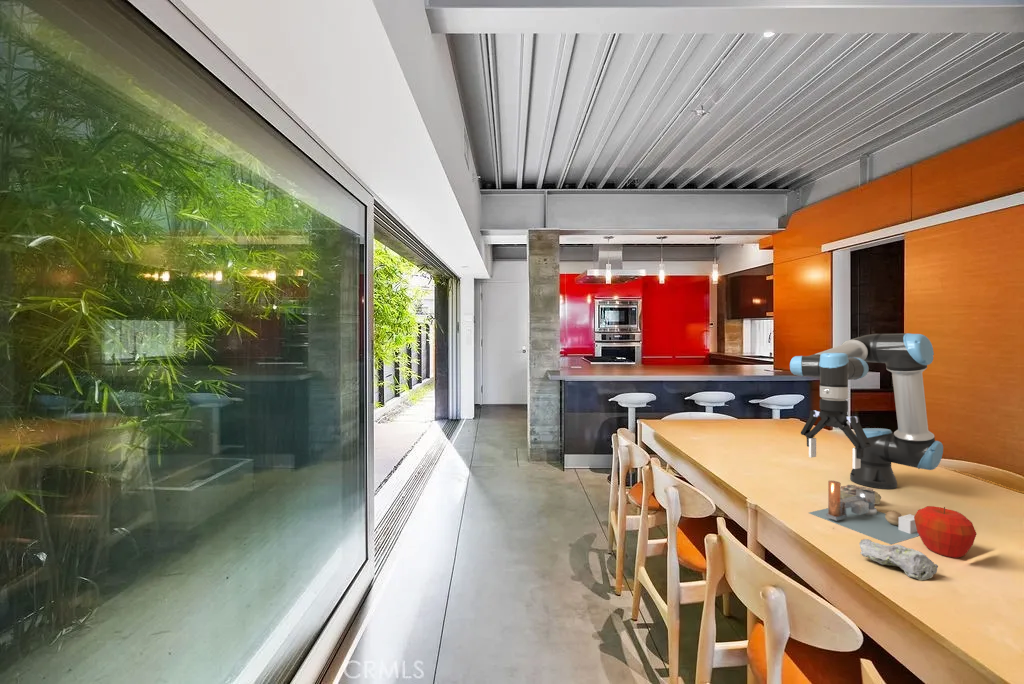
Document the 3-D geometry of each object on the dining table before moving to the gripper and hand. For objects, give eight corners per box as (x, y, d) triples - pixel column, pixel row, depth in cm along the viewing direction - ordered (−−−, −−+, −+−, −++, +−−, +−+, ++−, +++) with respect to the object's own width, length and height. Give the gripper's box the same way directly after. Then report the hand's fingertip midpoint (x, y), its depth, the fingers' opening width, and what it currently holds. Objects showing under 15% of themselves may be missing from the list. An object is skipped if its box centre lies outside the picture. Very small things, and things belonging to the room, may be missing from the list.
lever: (861, 506, 149) (861, 472, 149) (881, 512, 143) (881, 477, 143) (823, 515, 141) (823, 480, 141) (843, 523, 135) (843, 486, 135)
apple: (902, 544, 125) (902, 498, 125) (943, 545, 125) (944, 498, 125) (944, 567, 113) (944, 515, 113) (989, 567, 113) (990, 515, 112)
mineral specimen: (856, 563, 115) (856, 539, 115) (859, 554, 120) (860, 531, 120) (936, 587, 104) (936, 560, 104) (936, 576, 109) (936, 550, 109)
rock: (884, 494, 149) (870, 481, 159) (846, 491, 153) (834, 478, 162) (882, 513, 150) (868, 498, 160) (845, 509, 154) (833, 495, 163)
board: (851, 505, 154) (851, 491, 154) (937, 534, 132) (937, 517, 132) (807, 516, 146) (807, 501, 145) (890, 548, 123) (891, 531, 123)
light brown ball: (890, 520, 139) (890, 507, 139) (906, 526, 135) (906, 512, 135) (882, 523, 137) (882, 509, 137) (898, 528, 133) (898, 515, 133)
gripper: (789, 394, 150) (789, 453, 150) (869, 405, 126) (869, 475, 127) (803, 393, 152) (803, 451, 153) (885, 403, 129) (884, 472, 129)
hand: (833, 462), depth 140 cm, fingers open, 13 cm apart
